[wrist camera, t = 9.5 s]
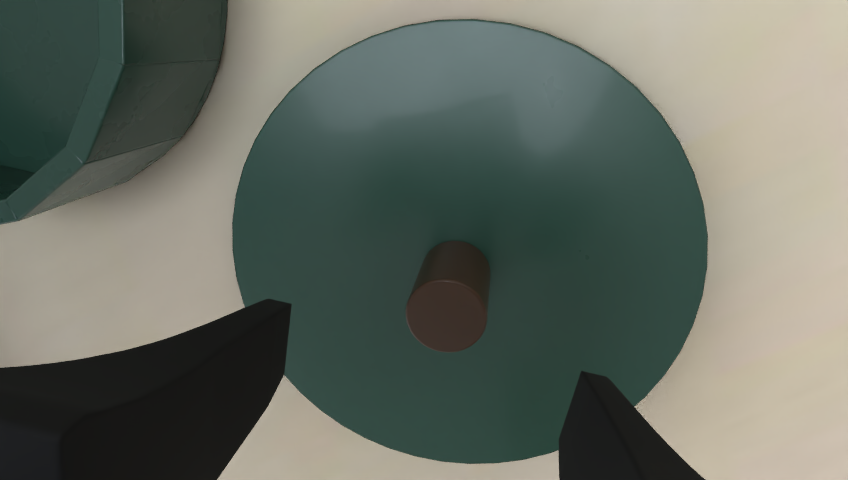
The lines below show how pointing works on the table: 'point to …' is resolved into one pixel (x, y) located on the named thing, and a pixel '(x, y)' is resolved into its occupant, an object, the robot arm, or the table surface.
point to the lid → (470, 237)
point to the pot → (97, 92)
